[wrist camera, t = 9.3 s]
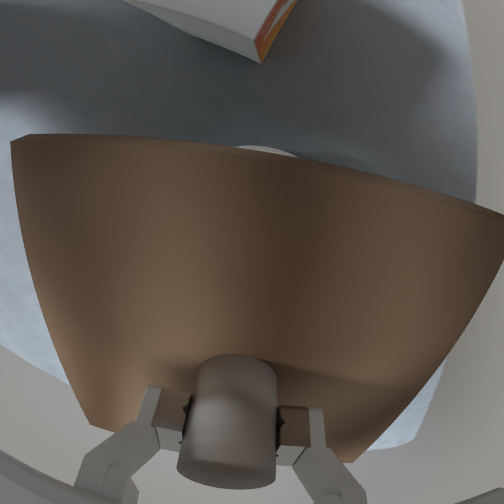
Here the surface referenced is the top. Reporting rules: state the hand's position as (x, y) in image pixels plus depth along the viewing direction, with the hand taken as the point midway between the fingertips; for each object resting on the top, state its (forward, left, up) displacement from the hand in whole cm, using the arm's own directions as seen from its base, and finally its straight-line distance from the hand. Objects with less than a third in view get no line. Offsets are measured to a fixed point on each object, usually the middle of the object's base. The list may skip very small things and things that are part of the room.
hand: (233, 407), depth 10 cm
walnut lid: (0, 0, -2) cm, 2 cm away
